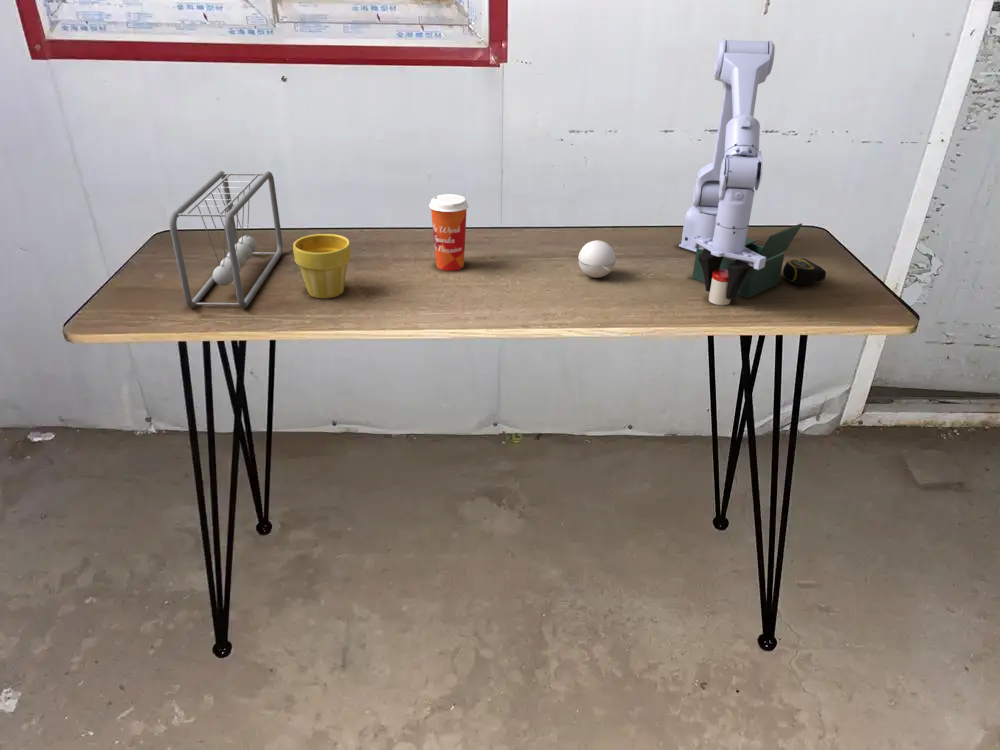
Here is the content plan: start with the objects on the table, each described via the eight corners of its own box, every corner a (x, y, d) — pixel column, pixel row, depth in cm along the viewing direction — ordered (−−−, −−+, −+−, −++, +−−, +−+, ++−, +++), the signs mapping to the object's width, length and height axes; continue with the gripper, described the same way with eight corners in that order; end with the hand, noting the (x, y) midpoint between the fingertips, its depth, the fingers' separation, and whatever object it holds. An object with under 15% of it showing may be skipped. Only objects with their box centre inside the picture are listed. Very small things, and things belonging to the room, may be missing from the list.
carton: (778, 283, 153) (785, 249, 149) (747, 298, 147) (754, 262, 143) (723, 264, 161) (728, 232, 157) (692, 278, 155) (697, 244, 151)
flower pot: (363, 285, 150) (359, 236, 145) (337, 306, 141) (332, 255, 136) (317, 277, 153) (311, 230, 148) (288, 298, 144) (281, 248, 139)
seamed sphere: (573, 269, 158) (576, 235, 154) (609, 269, 158) (612, 234, 155) (582, 289, 149) (584, 253, 146) (620, 288, 150) (623, 252, 146)
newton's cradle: (245, 312, 139) (228, 216, 130) (186, 312, 138) (166, 216, 130) (284, 251, 165) (273, 168, 156) (235, 251, 164) (221, 168, 156)
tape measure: (825, 286, 152) (829, 268, 150) (795, 289, 150) (799, 271, 148) (803, 273, 158) (807, 255, 156) (774, 276, 156) (778, 259, 154)
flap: (784, 249, 149) (786, 250, 149) (753, 262, 143) (755, 263, 143) (801, 223, 145) (802, 224, 145) (770, 235, 139) (771, 236, 139)
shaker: (703, 300, 146) (708, 272, 143) (716, 294, 148) (721, 267, 145) (722, 307, 143) (727, 279, 140) (734, 301, 145) (739, 273, 142)
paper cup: (424, 269, 157) (422, 202, 150) (441, 256, 163) (439, 191, 156) (459, 275, 154) (458, 207, 147) (475, 262, 161) (475, 196, 154)
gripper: (685, 218, 140) (675, 287, 147) (755, 239, 131) (741, 312, 138) (708, 210, 144) (698, 278, 151) (777, 230, 135) (763, 301, 142)
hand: (720, 293), depth 145 cm, fingers closed on shaker, 4 cm apart
